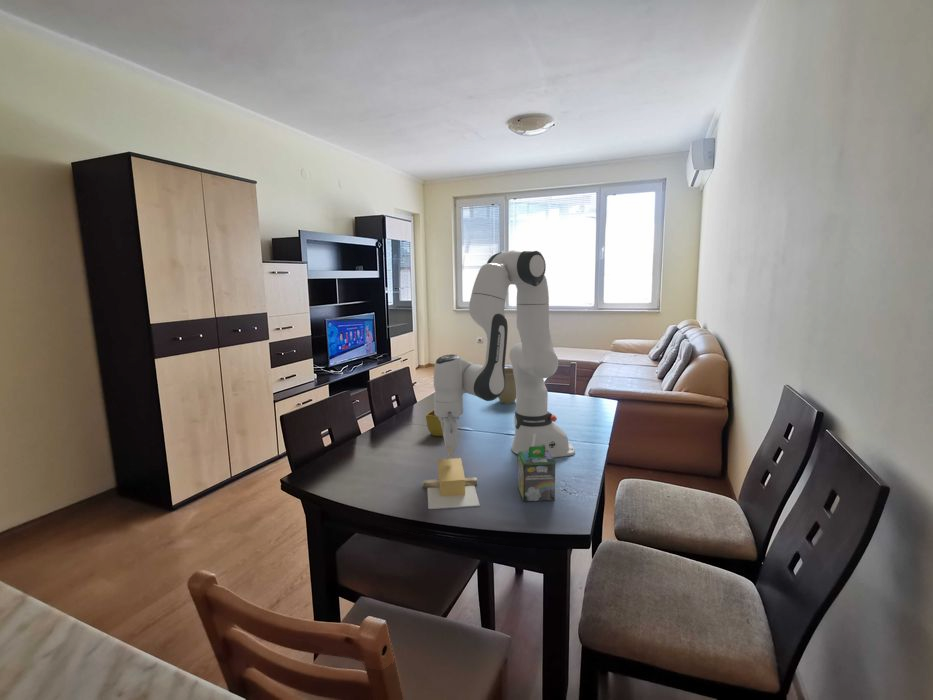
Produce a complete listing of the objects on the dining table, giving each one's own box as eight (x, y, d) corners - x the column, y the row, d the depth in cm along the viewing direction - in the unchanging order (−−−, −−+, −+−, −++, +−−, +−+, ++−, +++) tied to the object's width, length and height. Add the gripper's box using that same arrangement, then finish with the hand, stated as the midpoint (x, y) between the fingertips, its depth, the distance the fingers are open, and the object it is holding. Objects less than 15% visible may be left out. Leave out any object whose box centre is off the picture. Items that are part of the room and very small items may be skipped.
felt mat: (474, 486, 133) (474, 485, 133) (479, 506, 121) (479, 505, 121) (427, 488, 132) (427, 487, 132) (428, 509, 120) (428, 508, 120)
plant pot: (507, 396, 236) (507, 366, 233) (527, 402, 224) (528, 371, 222) (486, 401, 226) (486, 370, 224) (506, 407, 215) (506, 375, 213)
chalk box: (548, 486, 133) (549, 438, 130) (555, 501, 124) (556, 450, 121) (517, 487, 132) (517, 439, 130) (522, 502, 123) (523, 451, 121)
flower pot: (446, 439, 173) (445, 416, 172) (425, 436, 176) (425, 414, 174) (454, 431, 181) (453, 410, 180) (434, 429, 184) (433, 408, 183)
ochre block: (460, 458, 136) (465, 479, 126) (460, 472, 138) (465, 494, 127) (437, 459, 135) (440, 481, 125) (438, 473, 137) (440, 496, 126)
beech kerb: (476, 481, 136) (476, 477, 136) (477, 484, 134) (477, 480, 134) (423, 484, 134) (423, 480, 134) (424, 487, 132) (423, 483, 132)
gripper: (462, 417, 126) (462, 464, 128) (455, 399, 146) (456, 439, 148) (440, 418, 125) (440, 465, 128) (436, 399, 146) (437, 440, 148)
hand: (449, 451), depth 138 cm, fingers open, 8 cm apart
